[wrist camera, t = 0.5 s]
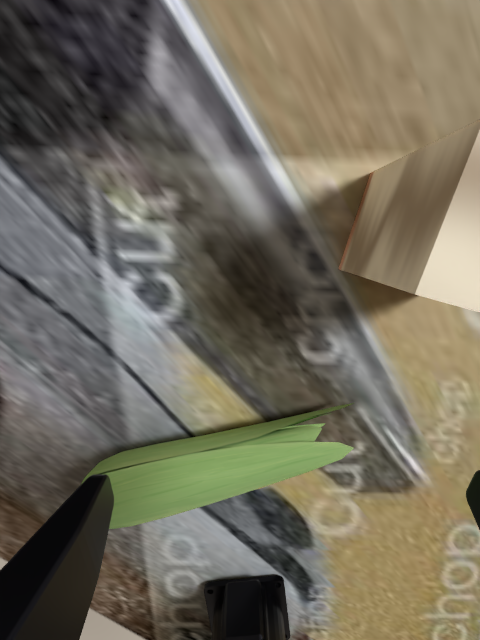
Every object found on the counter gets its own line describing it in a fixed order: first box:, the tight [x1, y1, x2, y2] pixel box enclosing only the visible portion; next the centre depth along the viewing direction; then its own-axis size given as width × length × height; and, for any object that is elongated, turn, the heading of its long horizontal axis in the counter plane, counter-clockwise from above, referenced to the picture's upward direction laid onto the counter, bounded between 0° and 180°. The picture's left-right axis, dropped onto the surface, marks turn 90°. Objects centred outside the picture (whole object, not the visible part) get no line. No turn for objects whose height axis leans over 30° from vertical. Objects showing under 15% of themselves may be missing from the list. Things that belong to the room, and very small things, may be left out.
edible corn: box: [81, 403, 354, 529], centre depth 23 cm, size 5×20×5 cm
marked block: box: [339, 119, 480, 312], centre depth 17 cm, size 6×6×10 cm
